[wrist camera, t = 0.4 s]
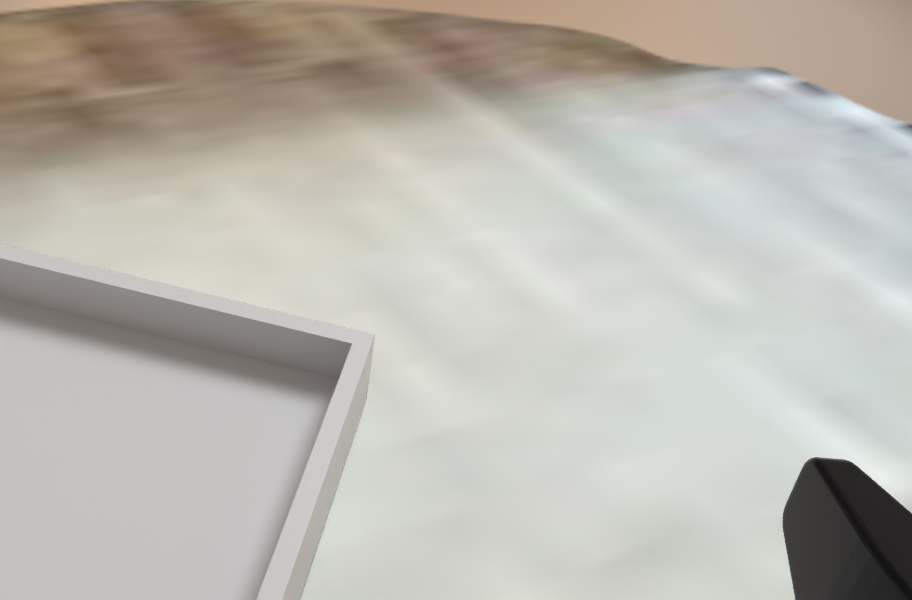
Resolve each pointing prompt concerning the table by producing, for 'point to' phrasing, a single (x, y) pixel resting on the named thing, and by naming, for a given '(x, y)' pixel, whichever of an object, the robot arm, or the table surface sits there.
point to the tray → (164, 437)
